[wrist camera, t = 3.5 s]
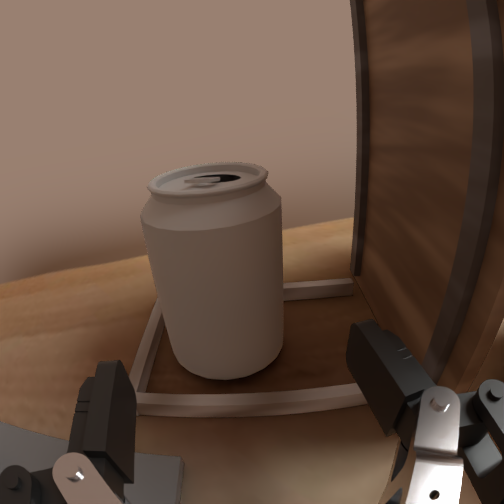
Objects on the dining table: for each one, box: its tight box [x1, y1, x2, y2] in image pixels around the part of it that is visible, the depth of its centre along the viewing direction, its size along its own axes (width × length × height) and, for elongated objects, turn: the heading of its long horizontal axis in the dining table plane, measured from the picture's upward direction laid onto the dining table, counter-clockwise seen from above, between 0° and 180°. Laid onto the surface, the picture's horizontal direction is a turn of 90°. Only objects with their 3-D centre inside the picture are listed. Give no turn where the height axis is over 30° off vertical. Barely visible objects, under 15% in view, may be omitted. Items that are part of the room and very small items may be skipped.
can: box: [140, 162, 283, 380], centre depth 19 cm, size 8×8×12 cm
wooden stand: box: [129, 0, 504, 417], centre depth 16 cm, size 18×18×26 cm
